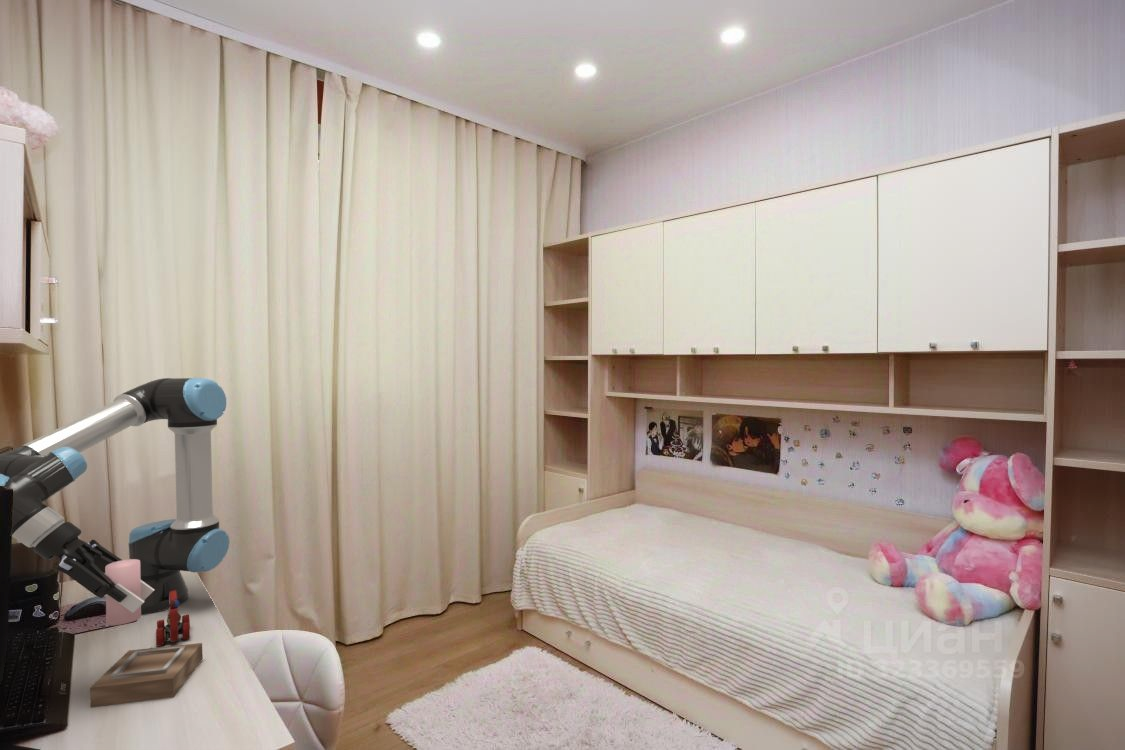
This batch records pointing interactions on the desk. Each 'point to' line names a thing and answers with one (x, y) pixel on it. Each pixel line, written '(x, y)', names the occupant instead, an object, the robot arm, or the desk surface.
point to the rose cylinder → (131, 580)
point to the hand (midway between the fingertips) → (144, 600)
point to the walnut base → (146, 675)
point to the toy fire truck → (173, 623)
